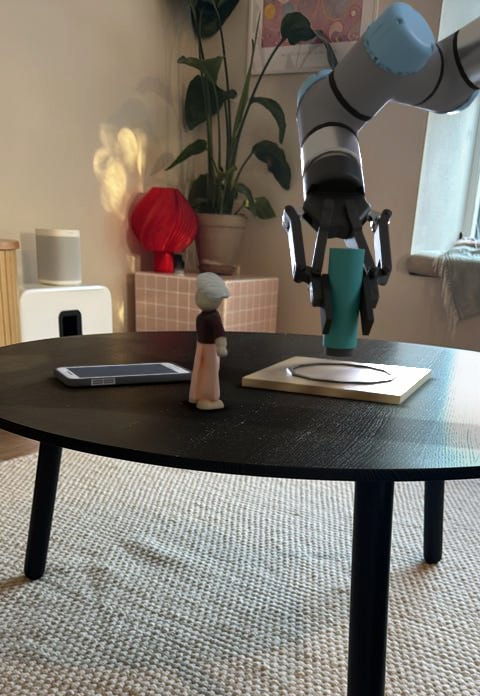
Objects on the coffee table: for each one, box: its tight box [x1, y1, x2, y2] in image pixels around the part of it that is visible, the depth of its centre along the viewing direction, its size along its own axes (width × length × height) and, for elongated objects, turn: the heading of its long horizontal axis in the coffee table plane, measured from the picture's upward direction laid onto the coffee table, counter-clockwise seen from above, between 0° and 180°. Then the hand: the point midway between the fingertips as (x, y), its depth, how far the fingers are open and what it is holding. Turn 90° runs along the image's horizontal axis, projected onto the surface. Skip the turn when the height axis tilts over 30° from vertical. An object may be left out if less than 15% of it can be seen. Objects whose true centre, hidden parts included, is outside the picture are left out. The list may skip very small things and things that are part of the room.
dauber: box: [322, 247, 365, 358], centre depth 88 cm, size 4×4×12 cm
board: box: [241, 355, 432, 406], centre depth 89 cm, size 18×18×1 cm
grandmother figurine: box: [188, 271, 231, 411], centre depth 73 cm, size 8×4×13 cm, turn 30°
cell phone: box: [53, 361, 193, 388], centre depth 86 cm, size 8×15×1 cm, turn 116°
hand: (347, 327), depth 85 cm, fingers closed on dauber, 4 cm apart
